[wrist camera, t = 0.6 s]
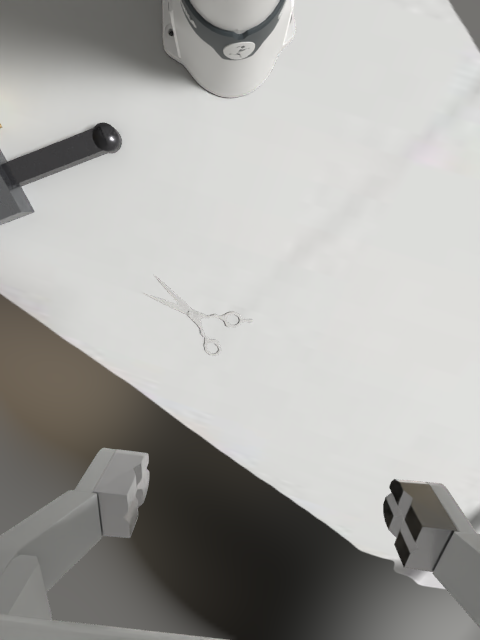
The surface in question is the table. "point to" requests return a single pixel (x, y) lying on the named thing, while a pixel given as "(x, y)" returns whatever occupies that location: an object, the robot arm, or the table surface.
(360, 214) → the table surface
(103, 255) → the table surface
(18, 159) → the grey handled square frame
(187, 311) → the scissors
